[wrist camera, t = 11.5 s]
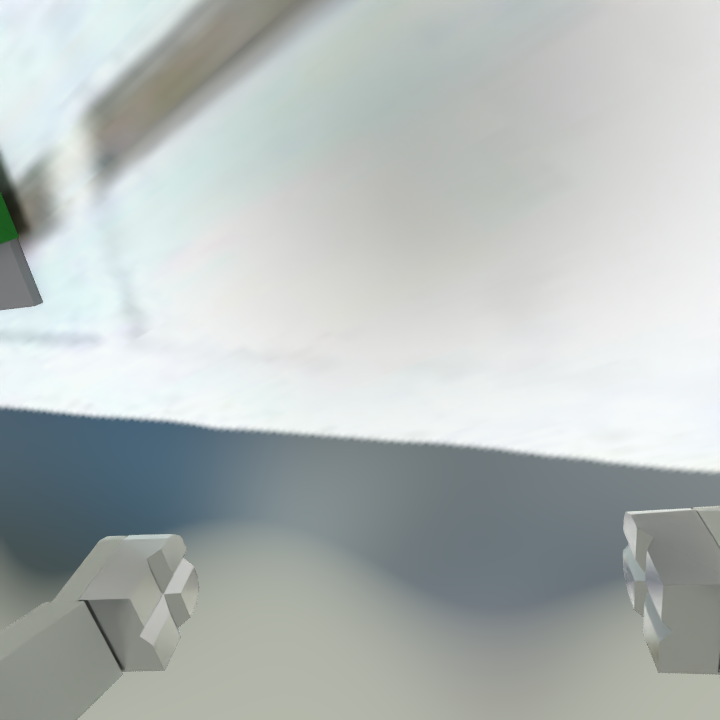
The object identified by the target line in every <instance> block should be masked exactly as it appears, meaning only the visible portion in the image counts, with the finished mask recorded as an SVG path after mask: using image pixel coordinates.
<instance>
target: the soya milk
mask: <svg viewBox="0 0 720 720" xmlns="http://www.w3.org/2000/svg"><path fill="white" fill-rule="evenodd" d="M17 238H19V236H18V233H17V231H16V228H15V226H14V223H13V221H12V219H11V216H10V214H9V211H8V209H7V206H6V204H5V201H4V199H3V196H2V194H1V191H0V244H3V243H5V242H8V241H11V240H14V239H17Z"/></svg>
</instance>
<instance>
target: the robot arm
mask: <svg viewBox="0 0 720 720" xmlns="http://www.w3.org/2000/svg"><path fill="white" fill-rule="evenodd" d="M623 531H624V533H625V536H626V538H627V540H628V543H629V545H628V546H627V547H626V548H625V549H624V550H623V568H624V575H625V582H626V586H627V590H628V594H629V597H630V600H631V602H632V605H633V608H634V610H635V611H636V612H638V613H639V614H640V615H642V616H643V617H644V624H643V635H644V637H645V640H646V643H647V645H648V648H649V650H650V653H651V655H652V658H653V661H654V663H655V666H656V668H657V671H658V673H687V674H720V506H709V507H694V508H691V509H689V508H687V509H671V510H670V509H669V510H651V511H633V512H626V513H625V516H624V528H623ZM186 550H187V548H186V546H185V544H184V542H183V540H182V538H181V536H178V535H175V534H163V535H130V536H107V537H106V538H104V539H102V540H100V541H99V542H98V543H97V545H96V546H95V547H94V549H93V550H92V551H91V552H90V554H89V555H88V556H87V558H86V559H85V560H84V561H83V563H82V564H81V565H80V567H79V568H78V569H77V571H76V572H75V573H74V574H73V576H72V577H71V578H70V579H69V581H68V582H67V583H66V585H65V586H64V587H63V589H62V590H61V591H60V592H59V594H58V595H57V596H56V597H55V599H54V600H53V601H52V602H44V603H43V604H41V605H40V606H39V607H37V608H35V609H34V610H32V611H31V612H29V613H28V614H26V615H25V616H23V617H22V618H20V619H19V620H17V621H15V622H14V623H12V624H11V625H9V626H8V627H6V628H5V629H4V630H2V631H0V720H77V719H78V718H79V717H80V716H81V715H82V714H83V713H84V712H85V711H86V710H87V709H88V708H89V707H90V706H91V705H92V704H94V703H95V702H96V701H97V700H98V698H100V697H101V696H102V695H103V694H104V692H106V691H107V690H108V689H109V688H110V687H111V686H112V685H113V684H114V683H115V682H116V681H117V680H118V679H119V678H120V677H121V676H122V675H123V673H122V672H130V671H163V670H165V669H166V667H167V665H168V663H169V661H170V659H171V657H172V655H173V653H174V651H175V649H176V646H177V644H178V642H179V640H180V638H181V637H180V633H179V629H178V627H179V626H181V625H182V624H183V623H184V622H185V621H187V620H188V619H189V618H190V617H191V615H192V613H193V611H194V609H195V606H196V604H197V599H198V592H199V582H198V576H197V573H196V570H195V568H194V566H193V565H191V564H190V563H189V562H188V561H186V560H185V559H184V558H183V557H184V555H185V553H186Z"/></svg>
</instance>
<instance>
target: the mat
mask: <svg viewBox="0 0 720 720" xmlns="http://www.w3.org/2000/svg"><path fill="white" fill-rule="evenodd" d="M41 303H43V302H42V299H41V297H40V294H39V292H38V289H37V287H36V284H35V282H34V279H33V277H32V274H31V272H30V269H29V267H28V264H27V262H26V259H25V257H24V254H23V252H22V249H21V247H20V244H19V242H18V239H14V240H11V241H8V242H5V243H3V244H0V310H6V309H14V308H23V307H31V306H36V305H38V304H41Z"/></svg>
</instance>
